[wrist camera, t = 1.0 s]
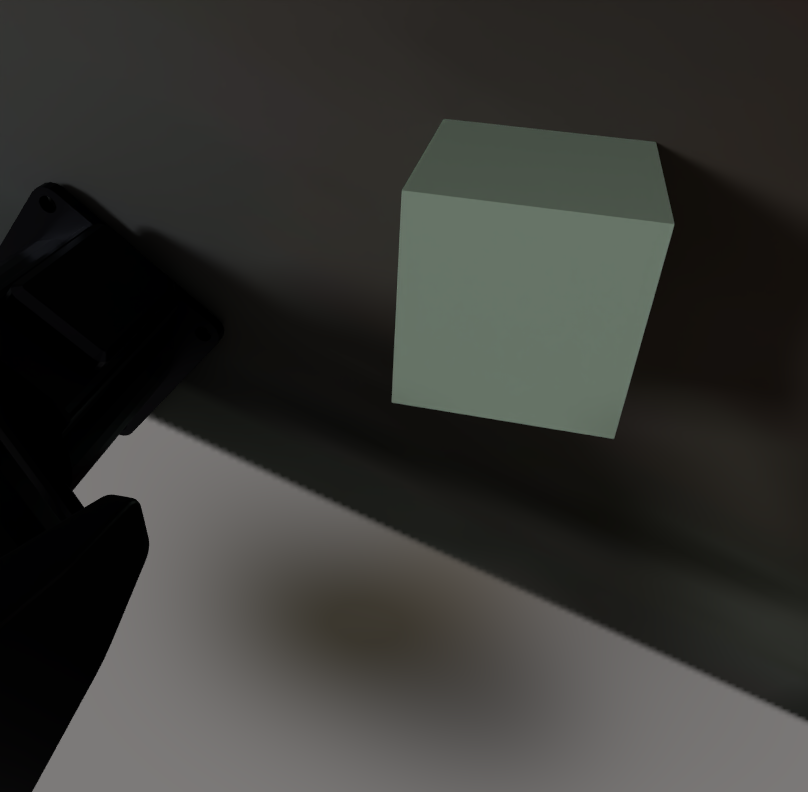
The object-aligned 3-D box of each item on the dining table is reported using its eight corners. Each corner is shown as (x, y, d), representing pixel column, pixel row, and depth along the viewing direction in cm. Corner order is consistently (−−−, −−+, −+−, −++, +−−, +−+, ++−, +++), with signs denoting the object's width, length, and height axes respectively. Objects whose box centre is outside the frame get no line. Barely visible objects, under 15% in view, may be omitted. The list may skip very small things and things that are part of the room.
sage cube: (655, 141, 17) (674, 224, 13) (609, 325, 20) (613, 438, 16) (444, 117, 18) (401, 190, 14) (430, 299, 21) (391, 402, 17)
